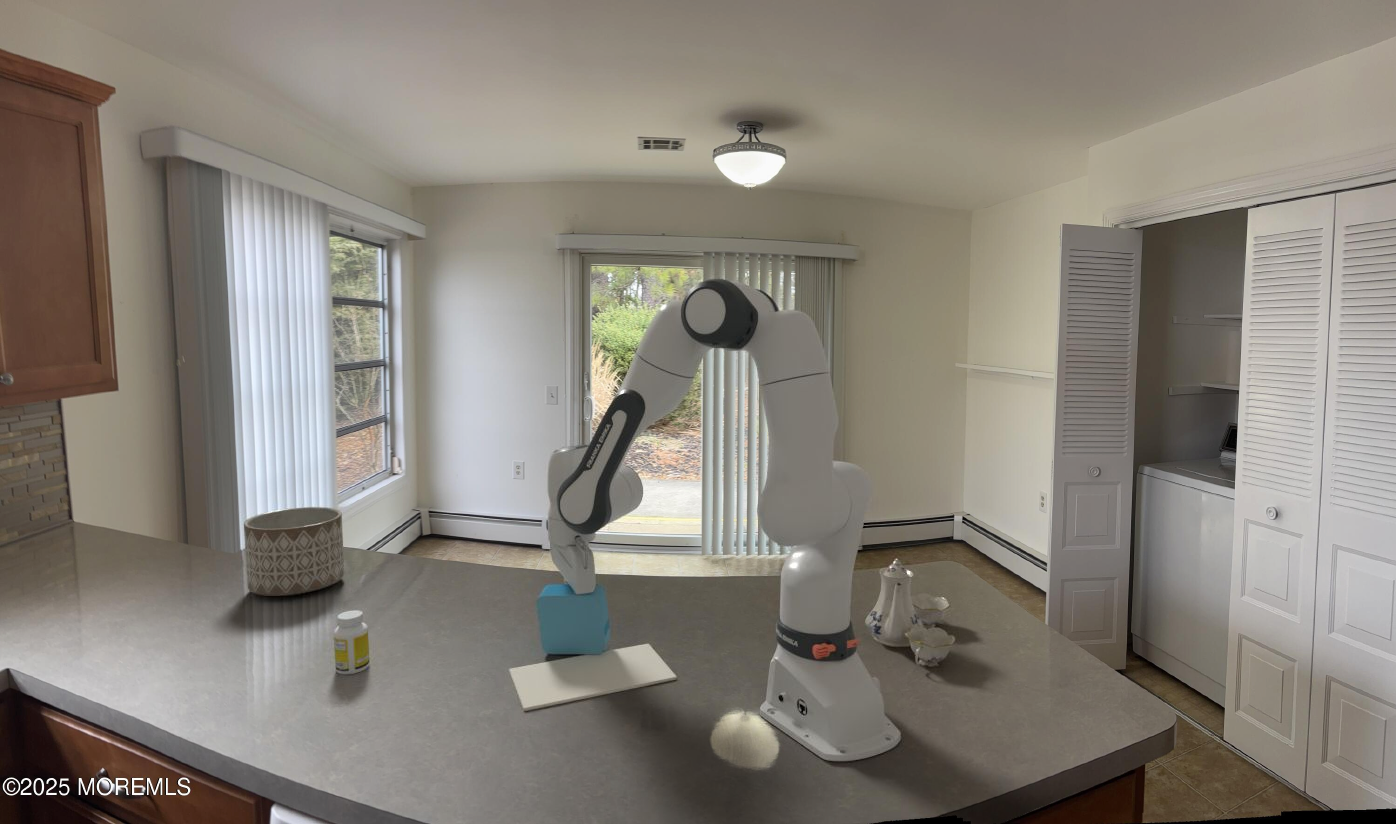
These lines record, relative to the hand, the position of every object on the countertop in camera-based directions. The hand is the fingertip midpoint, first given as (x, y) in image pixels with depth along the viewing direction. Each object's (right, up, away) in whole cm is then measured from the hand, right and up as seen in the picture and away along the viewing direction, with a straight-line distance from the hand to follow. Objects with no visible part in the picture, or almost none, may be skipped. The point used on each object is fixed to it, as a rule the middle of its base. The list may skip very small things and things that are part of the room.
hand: (572, 600), depth 133 cm
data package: (+1, -8, -3) cm, 9 cm away
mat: (+6, -10, -12) cm, 16 cm away
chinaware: (+66, -9, +4) cm, 66 cm away
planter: (-69, -5, +28) cm, 74 cm away
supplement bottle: (-37, -9, -10) cm, 39 cm away
